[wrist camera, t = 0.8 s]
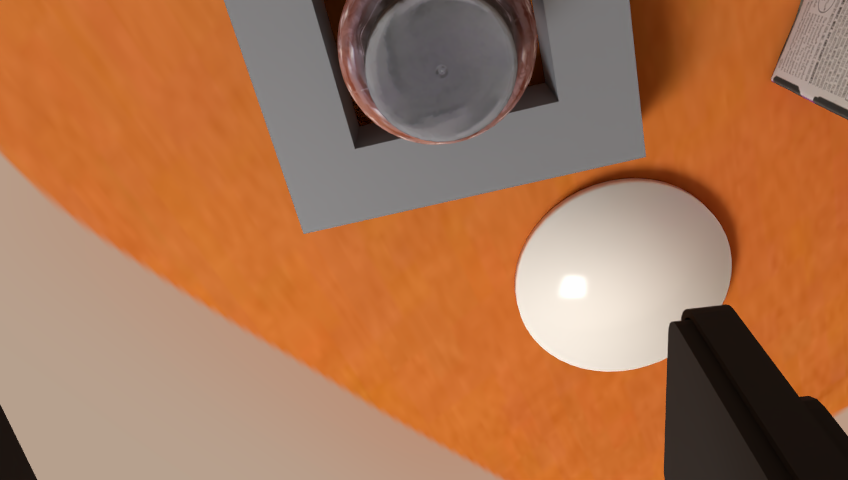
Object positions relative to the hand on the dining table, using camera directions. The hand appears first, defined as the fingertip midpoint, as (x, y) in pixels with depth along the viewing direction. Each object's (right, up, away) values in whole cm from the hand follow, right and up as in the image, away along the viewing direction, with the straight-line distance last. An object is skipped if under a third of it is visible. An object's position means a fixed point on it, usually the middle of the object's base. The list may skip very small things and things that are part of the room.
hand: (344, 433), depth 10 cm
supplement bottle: (+1, +12, +19) cm, 22 cm away
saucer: (+10, +1, +24) cm, 26 cm away
